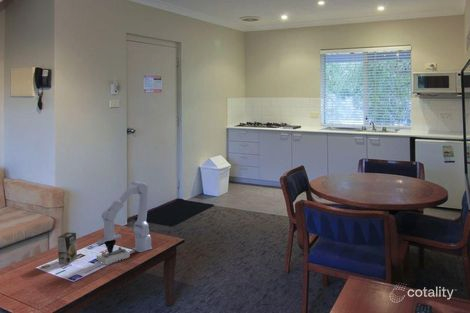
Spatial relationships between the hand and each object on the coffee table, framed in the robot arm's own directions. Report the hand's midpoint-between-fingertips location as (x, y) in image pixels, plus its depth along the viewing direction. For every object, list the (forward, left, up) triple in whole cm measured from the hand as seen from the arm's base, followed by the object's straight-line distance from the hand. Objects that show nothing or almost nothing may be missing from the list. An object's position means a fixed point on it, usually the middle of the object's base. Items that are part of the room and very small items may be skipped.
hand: (110, 252), depth 234 cm
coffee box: (+18, -16, -5) cm, 25 cm away
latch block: (-2, 0, -5) cm, 5 cm away
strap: (-2, 0, -2) cm, 3 cm away
